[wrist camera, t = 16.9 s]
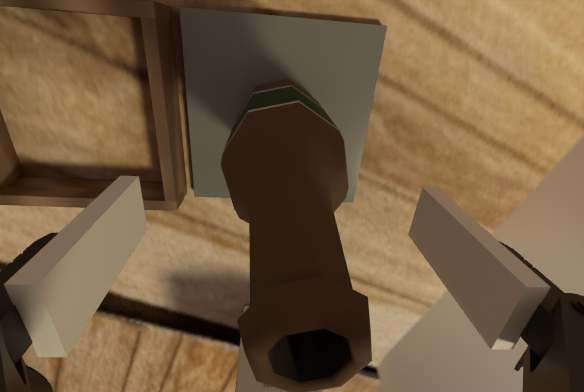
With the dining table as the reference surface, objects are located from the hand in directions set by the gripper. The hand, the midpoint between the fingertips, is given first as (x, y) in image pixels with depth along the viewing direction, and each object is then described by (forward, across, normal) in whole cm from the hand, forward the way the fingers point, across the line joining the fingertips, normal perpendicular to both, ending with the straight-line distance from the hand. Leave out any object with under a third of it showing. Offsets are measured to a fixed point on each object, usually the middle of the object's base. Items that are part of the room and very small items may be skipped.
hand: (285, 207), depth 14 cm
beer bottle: (+16, 0, 0) cm, 16 cm away
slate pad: (+17, 0, 0) cm, 17 cm away
